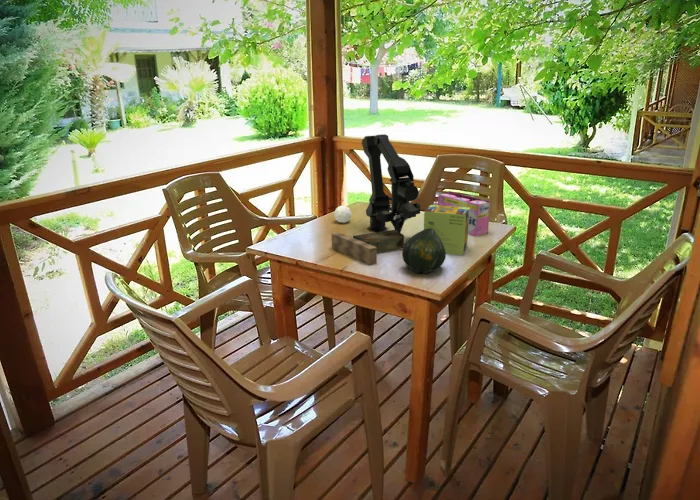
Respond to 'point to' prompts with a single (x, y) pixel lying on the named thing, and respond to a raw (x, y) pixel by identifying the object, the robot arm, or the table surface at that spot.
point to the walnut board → (354, 248)
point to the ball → (342, 214)
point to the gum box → (476, 213)
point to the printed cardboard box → (383, 240)
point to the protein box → (449, 226)
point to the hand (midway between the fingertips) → (398, 233)
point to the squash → (424, 251)
